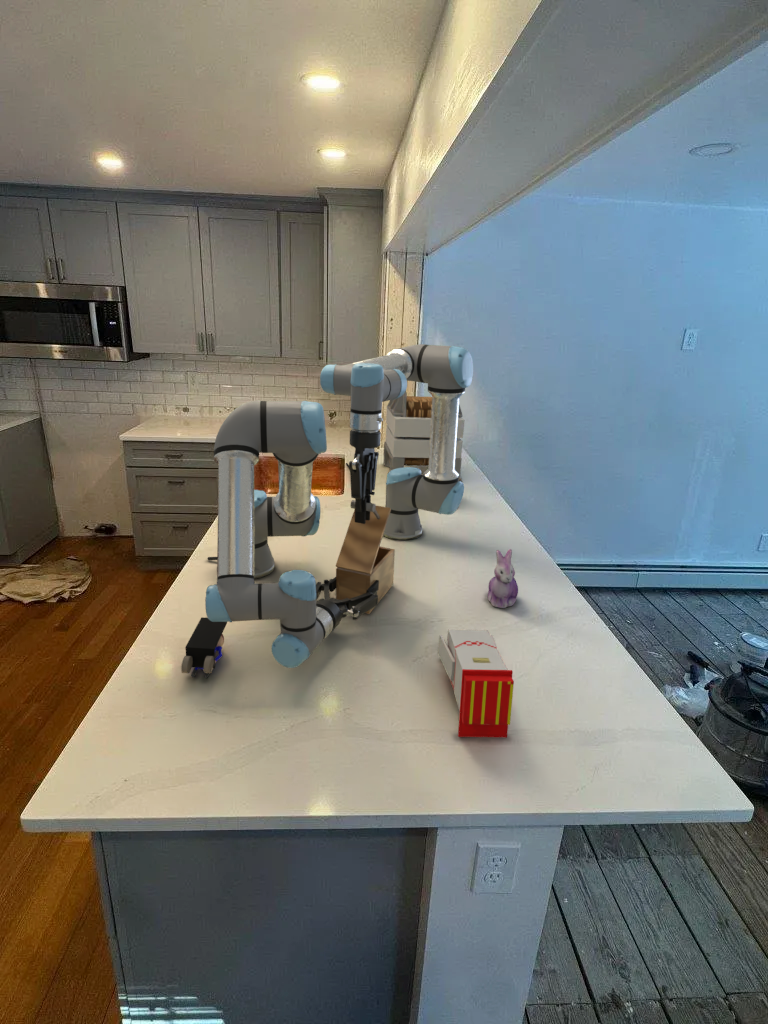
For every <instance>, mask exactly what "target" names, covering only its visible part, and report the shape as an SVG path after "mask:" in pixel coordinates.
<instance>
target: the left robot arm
mask: <svg viewBox="0 0 768 1024" xmlns="http://www.w3.org/2000/svg"><path fill="white" fill-rule="evenodd" d="M327 442H328V441H327V429H326V417H325V411H324V406H323V405H322V404H321V403H320V402H317V401H308V400H258V399H257V400H250V401H246V402H244V403H241V404H240V405H239V406H237V407H235V408H234V409H233V410H232V411H231V412H230V413H229V414H228V415H227V417H226V418H225V419H224V420H223V422H222V424H221V425H220V428H219V429H218V432H217V434H216V436H215V440H214V445H213V461H214V462H215V463H216V464H217V465H218V475H217V478H218V479H217V480H218V481H217V483H218V488H217V547H216V549H217V553H216V554H217V555H216V556H208V557H207V560H208V561H217V562H216V584H211V585H208V586H207V588H206V591H205V599H204V600H205V604H204V605H205V615H206V618H208V619H209V620H210V621H211V622H227V623H228V622H229V623H233V622H247V621H267V620H268V621H270V620H271V621H272V620H273V621H274V620H279V625H280V626H279V627H280V631H279V634H278V635H277V636H276V637H275V639H274V640H273V641H272V644H271V655H272V657H273V658H274V660H275V661H276V663H278V664H279V665H280V666H282V667H284V668H287V669H294V668H297V667H299V666H300V665H301V664H303V663H304V662H305V661H306V660H308V659H309V658H310V656H311V655H312V654H313V653H314V652H315V651H316V649H317V648H319V646H320V645H321V644H322V642H323V641H325V640H326V638H327V637H328V636H329V635H330V634H331V632H333V631H334V630H335V629H336V628H337V627H338V626H339V624H340V623H341V621H342V619H344V618H346V617H347V616H348V617H352V620H353V621H357V620H358V619H359V618H360V616H362V615H364V614H366V613H365V612H367V611H369V610H370V609H372V608H374V607H375V608H376V607H377V606H378V605H379V603H378V595H377V591H378V590H379V581H378V580H376V581H375V582H374V583H373V584H372V585H371V586H370V587H369V588H368V589H367V590H366V593H365V594H362V595H359V596H356V597H353V598H351V599H349V598H345V599H342V600H338V599H336V597H335V598H334V597H331V593H333V592H335V591H336V576H335V577H333V578H330V579H324V580H323V583H322V582H321V581H317V582H316V578H315V576H314V575H313V574H312V573H311V572H309V571H307V570H304V569H292V570H289V571H288V570H287V571H285V572H283V573H282V574H280V576H279V579H278V582H259V583H258V582H255V580H256V579H261V578H263V577H266V576H268V575H270V574H272V573H273V572H274V570H275V568H276V567H275V559H274V557H273V554H272V551H271V548H270V546H269V543H268V540H269V539H268V538H270V537H307V536H314V535H316V534H317V533H318V530H319V529H320V519H321V501H320V499H319V497H318V496H316V495H313V493H312V483H313V467H314V461H316V459H317V458H318V457H319V455H321V454H325V453H326V452H327V449H328V444H327ZM261 453H262V454H272V455H273V457H274V458H275V460H276V461H277V471H278V492H277V493H276V495H275V496H268V494H267V493H266V491H264V490H259V489H255V466H256V465H257V464H258V463H259V462H260V454H261ZM322 592H323V598H320V599H319V597H320V596H321V593H322ZM345 603H346V604H345ZM375 608H374V609H375Z"/></svg>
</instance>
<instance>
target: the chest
mask: <svg viewBox="0 0 768 1024" xmlns="http://www.w3.org/2000/svg"><path fill="white" fill-rule="evenodd" d="M395 553H396V549H395V548H390V547H385V546H380V547H379V550H378V553H377V556H376V560H375V563H374V566H373V569H372V572H371V575H370V574H365V573H361V572H356V571H351V570H347V569H342V568H338V567H335V577H336V589H335V599H338V600H342V599H345V598H349V599H351V598H353V597H356V596H359V595H362V594H365V593H366V590H367V589H368V588H369V587H370V586H371V585H372V584H373V583H374V582H375V581H376V580H378V581H379V590H378V591H377V595H378V604H379V603H380V602H381V600H383V598H384V597H385V596H386V595H387V593H389V590H390V589H391V588H392V587H393V586H394V578H395V577H394V575H395V556H396V555H395ZM345 604H346V603H345ZM375 608H376V606H375V607H374V608H372V609H370V610H369V611H367V612H365V613H364V614H367V615H370V614H371V613H372V611H374V609H375Z"/></svg>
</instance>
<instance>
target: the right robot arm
mask: <svg viewBox="0 0 768 1024" xmlns="http://www.w3.org/2000/svg"><path fill="white" fill-rule="evenodd" d="M473 378H474V362H473V357H472V355H471V353H470V351H469V350H468V348H467V349H466V348H465V347H460V346H455V345H441V344H440V345H438V344H426V343H425V344H424V343H419V344H413V345H407V346H404V347H399V348H395V349H392V350H390V351H389V352H388V353H387V354H386V355H385V354H384V355H382V356H377V357H373V358H369V359H368V358H367V359H364V360H361V361H360V360H359V361H357V362H352V363H347V364H337V363H334V364H326V365H324V367H322V369H321V371H320V375H319V383H320V388H321V389H322V391H324V393H326V394H330V395H331V394H332V395H334V396H345V397H346V396H347V397H350V411H349V414H350V415H349V428H350V430H349V445H350V446H351V447H353V448H354V455H353V460H350V461H349V462H348V463H347V462H346V463H345V465H346V466H347V468H348V469H349V472H350V497H351V498H352V499H354V500H355V509H354V510H355V522H356V523H362V524H365V523H366V520H370V511H366V502H367V503H372V502H371V499H372V496H375V495H376V491H375V489H376V479H377V468H378V460H379V455H380V453H379V452H378V451H376V449H377V448H379V447H380V446H381V439H382V432H381V429H382V423H383V421H384V418H383V417H382V413H383V411H382V410H383V402H388V401H390V400H394V399H397V398H399V397H401V396H402V395H403V394H404V393H405V391H406V392H407V388H408V381H409V382H414V383H415V382H416V383H420V384H427V392H428V393H429V394H430V395H431V397H432V410H431V429H430V448H429V465H428V467H427V469H426V470H424V471H423V474H422V470H421V468H419V467H415V466H411V467H410V466H406V467H405V466H404V468H397V469H393V470H391V471H390V470H389V471H388V473H387V475H386V480H385V504H384V505H385V506H384V507H387V508H390V509H391V511H390V514H389V518H388V521H387V524H386V527H385V531H384V534H383V537H385V538H387V539H389V540H395V541H410V540H415V539H418V538H420V537H421V536H422V535H423V525H422V524H421V518H420V515H419V510H421V511H427V512H430V513H436V514H439V515H446V516H447V515H448V516H450V515H453V514H454V513H456V511H457V510H458V509H459V507H460V505H461V502H462V500H463V496H464V493H465V485H464V482H461V481H458V479H459V474H458V473H457V472H456V471H455V456H456V442H457V427H458V413H459V405H460V398H461V397H462V395H464V394H465V393H466V388H469V387H470V386H471V384H472V382H473Z"/></svg>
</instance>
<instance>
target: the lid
mask: <svg viewBox="0 0 768 1024" xmlns="http://www.w3.org/2000/svg"><path fill="white" fill-rule="evenodd" d="M350 509H353V513H352V516H351V519H350V522H349V525H348V528H347V531H346V533H345V536H344V540H343V543H342V545H341V548H340V551H339V555H338V558H337V561H336V563H335V568H337V567H338V568H342V569H347V570H351V571H356V572H361V573H365V574H370V575H371V572H372V569H373V566H374V563H375V560H376V556H377V553H378V550H379V547H381V544H382V540H383V537H384V536H383V534H384V531H385V527H386V524H387V521H388V518H389V514H390V511H391V509H390V508H387V507H385V506H382V505H381V506H380V505H376V503H372V502H371V503H367V502H366V511H370V520H366V523H365V524H362V523H356V522H355V499H352V500H351V501H350Z"/></svg>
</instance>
